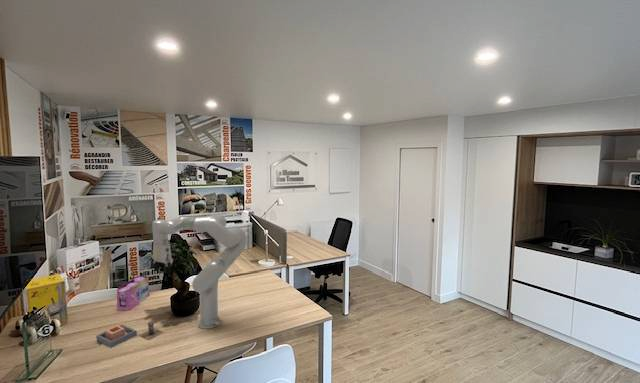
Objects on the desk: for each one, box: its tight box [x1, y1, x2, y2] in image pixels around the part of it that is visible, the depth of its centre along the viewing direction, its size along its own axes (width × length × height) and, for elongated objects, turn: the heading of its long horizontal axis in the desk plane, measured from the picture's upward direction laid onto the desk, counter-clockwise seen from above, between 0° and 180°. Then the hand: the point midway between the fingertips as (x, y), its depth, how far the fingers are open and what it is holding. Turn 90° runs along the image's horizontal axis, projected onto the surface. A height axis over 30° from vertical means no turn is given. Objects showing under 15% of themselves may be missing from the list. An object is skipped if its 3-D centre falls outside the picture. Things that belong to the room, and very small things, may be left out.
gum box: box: [116, 275, 150, 311], centre depth 214 cm, size 24×8×14 cm, turn 178°
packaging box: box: [22, 273, 69, 326], centre depth 186 cm, size 16×16×25 cm
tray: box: [95, 324, 138, 348], centre depth 172 cm, size 13×13×4 cm
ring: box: [104, 324, 126, 341], centre depth 172 cm, size 6×8×5 cm
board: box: [137, 321, 165, 341], centre depth 176 cm, size 9×9×7 cm
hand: (162, 271), depth 188 cm, fingers open, 9 cm apart
